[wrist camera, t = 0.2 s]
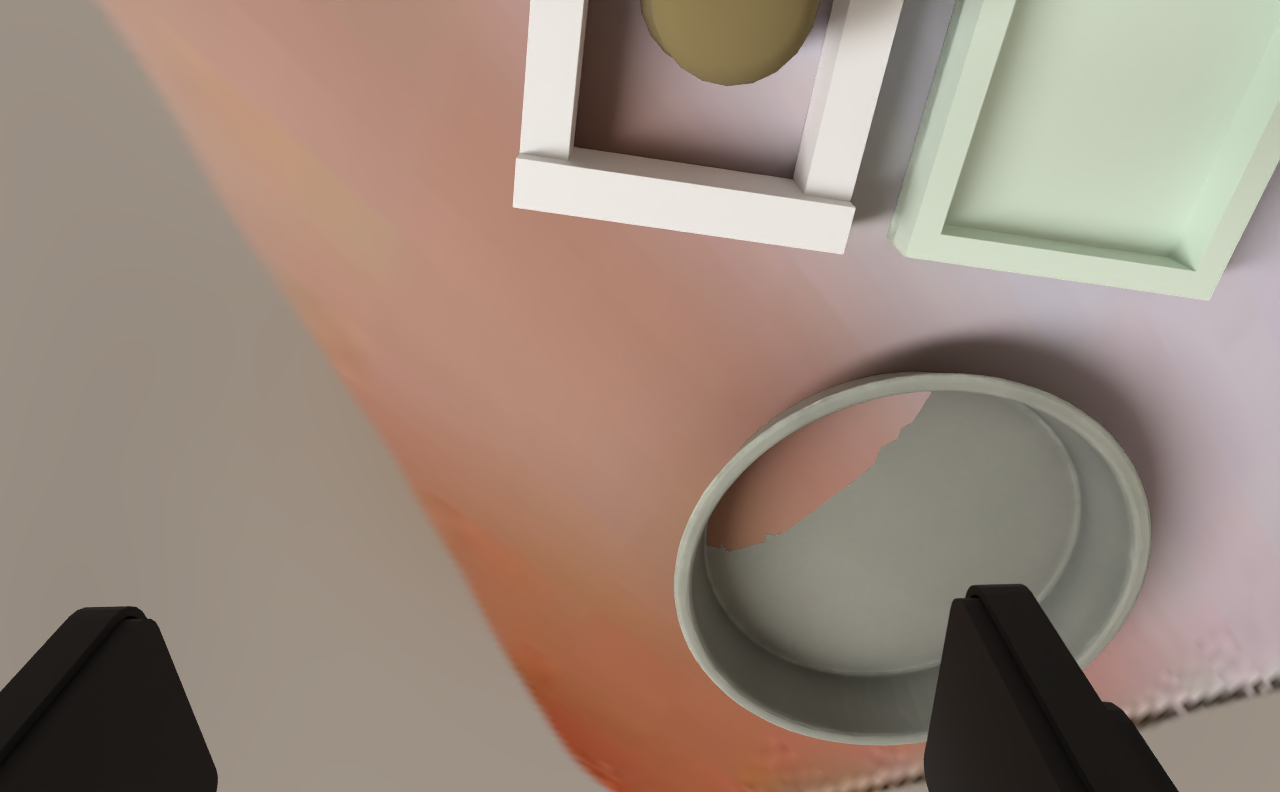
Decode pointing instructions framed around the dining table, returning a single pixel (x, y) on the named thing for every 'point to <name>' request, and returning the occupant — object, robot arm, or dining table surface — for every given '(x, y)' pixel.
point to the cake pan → (914, 555)
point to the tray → (1096, 140)
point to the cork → (730, 35)
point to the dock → (693, 193)
